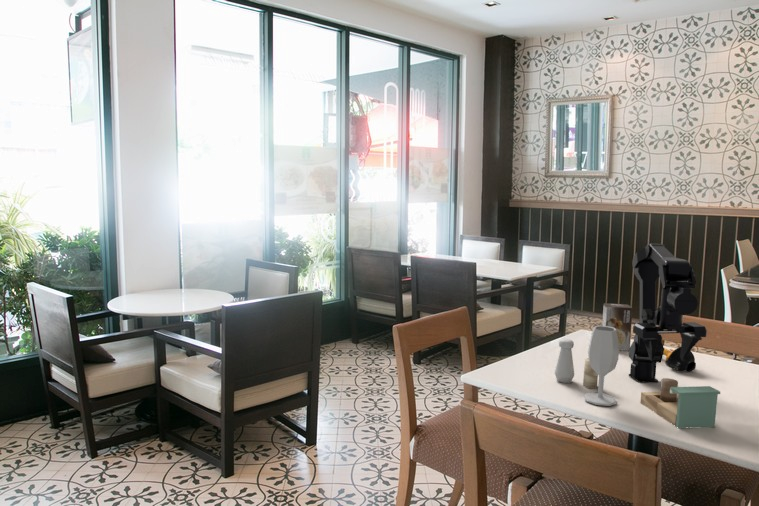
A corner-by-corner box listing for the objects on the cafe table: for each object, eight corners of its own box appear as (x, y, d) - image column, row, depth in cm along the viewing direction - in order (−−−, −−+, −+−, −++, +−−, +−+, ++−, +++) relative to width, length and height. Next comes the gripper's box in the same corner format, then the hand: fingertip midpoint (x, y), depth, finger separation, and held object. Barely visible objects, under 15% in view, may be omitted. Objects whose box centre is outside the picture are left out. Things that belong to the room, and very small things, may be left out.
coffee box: (626, 346, 227) (629, 304, 225) (630, 351, 220) (633, 307, 218) (600, 344, 228) (603, 302, 226) (603, 349, 222) (606, 306, 220)
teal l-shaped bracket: (706, 420, 158) (709, 386, 156) (716, 427, 154) (720, 391, 152) (667, 422, 156) (670, 387, 155) (676, 428, 152) (679, 392, 151)
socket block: (673, 401, 171) (674, 391, 170) (711, 424, 155) (712, 413, 155) (640, 402, 170) (641, 392, 169) (674, 426, 154) (675, 414, 153)
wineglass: (612, 409, 164) (618, 334, 161) (580, 402, 169) (584, 329, 166) (619, 399, 171) (624, 327, 169) (587, 393, 176) (592, 322, 173)
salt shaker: (574, 384, 183) (577, 343, 181) (555, 383, 184) (557, 341, 182) (572, 378, 189) (575, 338, 187) (553, 376, 190) (556, 336, 188)
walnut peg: (678, 411, 164) (681, 383, 163) (664, 411, 163) (667, 383, 162) (669, 405, 168) (672, 378, 167) (656, 406, 167) (658, 378, 166)
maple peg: (593, 383, 184) (594, 358, 183) (599, 388, 181) (601, 362, 180) (580, 383, 184) (582, 358, 183) (586, 388, 180) (588, 362, 179)
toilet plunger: (680, 362, 192) (641, 331, 207) (680, 387, 198) (642, 355, 213) (704, 351, 193) (664, 321, 208) (703, 375, 199) (664, 345, 214)
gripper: (685, 298, 175) (680, 350, 178) (624, 299, 173) (620, 351, 175) (710, 307, 164) (705, 362, 167) (646, 308, 162) (641, 364, 164)
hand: (666, 359), depth 169 cm, fingers open, 9 cm apart
